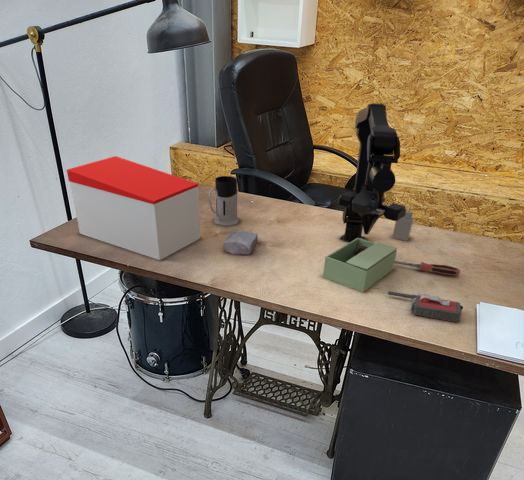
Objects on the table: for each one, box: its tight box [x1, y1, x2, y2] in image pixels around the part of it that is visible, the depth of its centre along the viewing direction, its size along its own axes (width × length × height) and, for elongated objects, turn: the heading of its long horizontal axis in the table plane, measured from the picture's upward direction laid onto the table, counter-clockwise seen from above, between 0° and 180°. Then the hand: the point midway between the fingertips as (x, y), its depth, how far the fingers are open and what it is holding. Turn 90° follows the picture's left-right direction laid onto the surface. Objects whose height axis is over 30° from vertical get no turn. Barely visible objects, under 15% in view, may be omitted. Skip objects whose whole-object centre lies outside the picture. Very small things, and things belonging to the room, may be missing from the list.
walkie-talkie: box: [386, 290, 464, 323], centre depth 126 cm, size 9×4×20 cm
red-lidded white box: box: [66, 155, 201, 261], centre depth 153 cm, size 21×35×21 cm, turn 59°
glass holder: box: [208, 175, 239, 227], centre depth 167 cm, size 9×14×15 cm, turn 148°
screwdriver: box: [394, 260, 461, 277], centre depth 146 cm, size 25×3×3 cm, turn 73°
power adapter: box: [391, 203, 414, 242], centre depth 163 cm, size 3×5×12 cm, turn 62°
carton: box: [322, 238, 398, 293], centre depth 141 cm, size 19×14×6 cm
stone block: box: [222, 230, 259, 256], centre depth 154 cm, size 12×5×10 cm
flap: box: [346, 241, 398, 270], centre depth 137 cm, size 19×7×1 cm, turn 141°
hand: (366, 234), depth 139 cm, fingers closed
